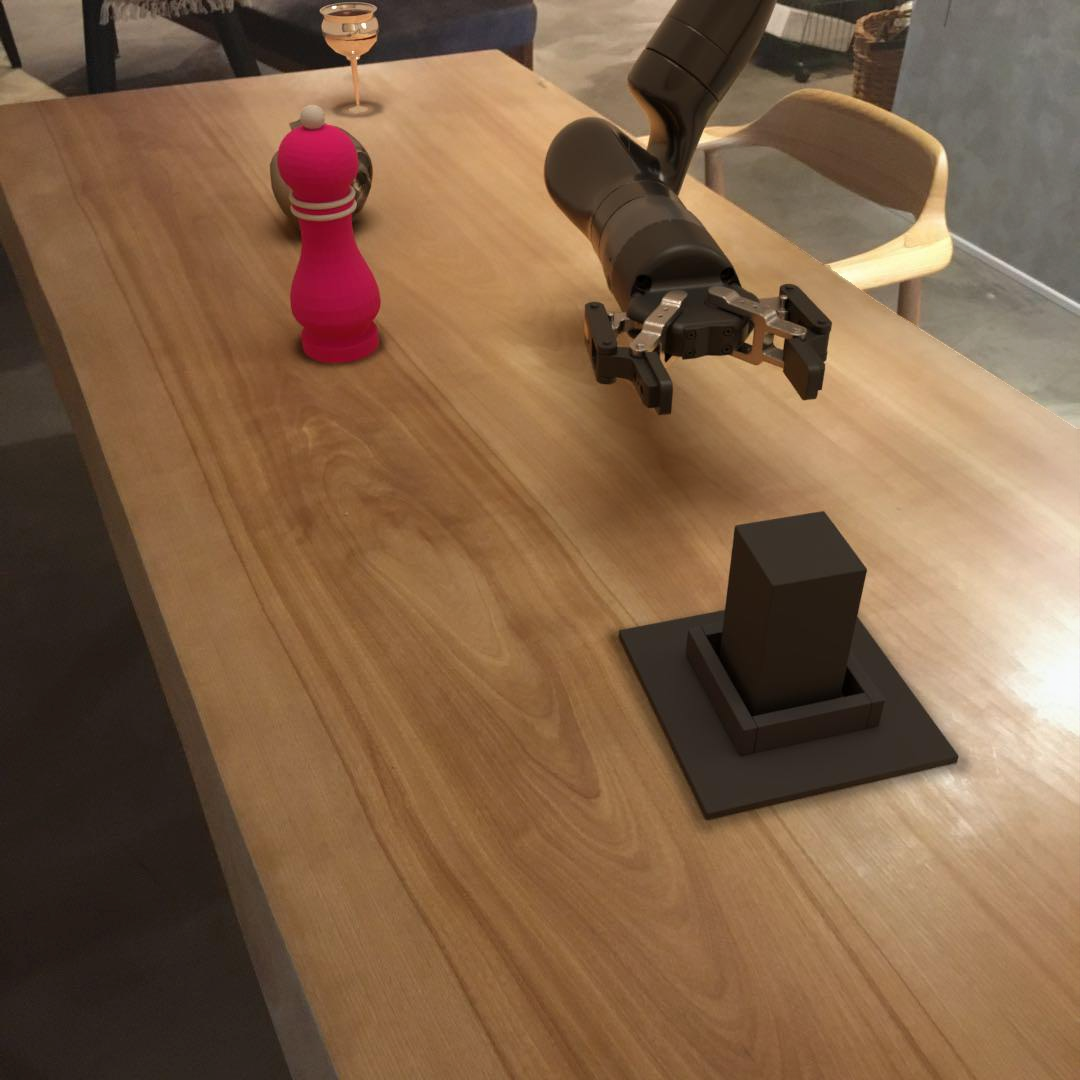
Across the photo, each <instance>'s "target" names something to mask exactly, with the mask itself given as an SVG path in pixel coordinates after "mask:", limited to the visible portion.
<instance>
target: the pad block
mask: <svg viewBox="0 0 1080 1080" xmlns="http://www.w3.org/2000/svg"><path fill="white" fill-rule="evenodd" d="M728 572H729V573H728V579H727V589H726V595H725V596H726V597H725V606H724V610H725V613H724V622H723V630H722V638H721V647H720V655H719V660H720V662H721V664H722V665H723V667H724V669H725V671H726V672H727V674H728V676H729V678H730V680H731V681H732V683H733V685H734V687H735V688H736V690H737V692H738V694H739V696H740V697H741V699H742V701H743V703H744V704H745V706H746V708H747V710H748V711H749V713H750V715H751V717H753V716H757V715H762V714H766V713H771V712H776V711H781V710H785V709H790V708H795V707H799V706H804V705H809V704H814V703H818V702H823V701H828V700H832V699H837V698H840V696H841V691H842V686H843V682H844V677H845V672H846V667H847V663H848V658H849V653H850V649H851V644H852V639H853V634H854V630H855V625H856V620H857V617H858V615H859V611H860V605H861V601H862V597H863V592H864V587H865V582H866V577H867V574H868V568H867V567H866V565H865V564H864V563H863V561H862V560H861V559H860V557H859V556H858V554H857V553H856V552H855V551H854V549H853V548H852V546H851V545H850V544H849V542H848V541H847V540H846V539H845V537H844V535H843V534H842V533H841V532H840V530H839V529H838V528H837V526H836V525H835V523H834V522H833V521H832V519H831V518H830V516H828V514H827V512H826V511H824V510H821V511H815V512H809V513H804V514H796V515H790V516H784V517H778V518H772V519H765V520H759V521H754V522H753V521H752V522H748V523H742V524H741V523H740V524H736V525H734V529H733V538H732V547H731V555H730V563H729V571H728Z"/></svg>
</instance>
